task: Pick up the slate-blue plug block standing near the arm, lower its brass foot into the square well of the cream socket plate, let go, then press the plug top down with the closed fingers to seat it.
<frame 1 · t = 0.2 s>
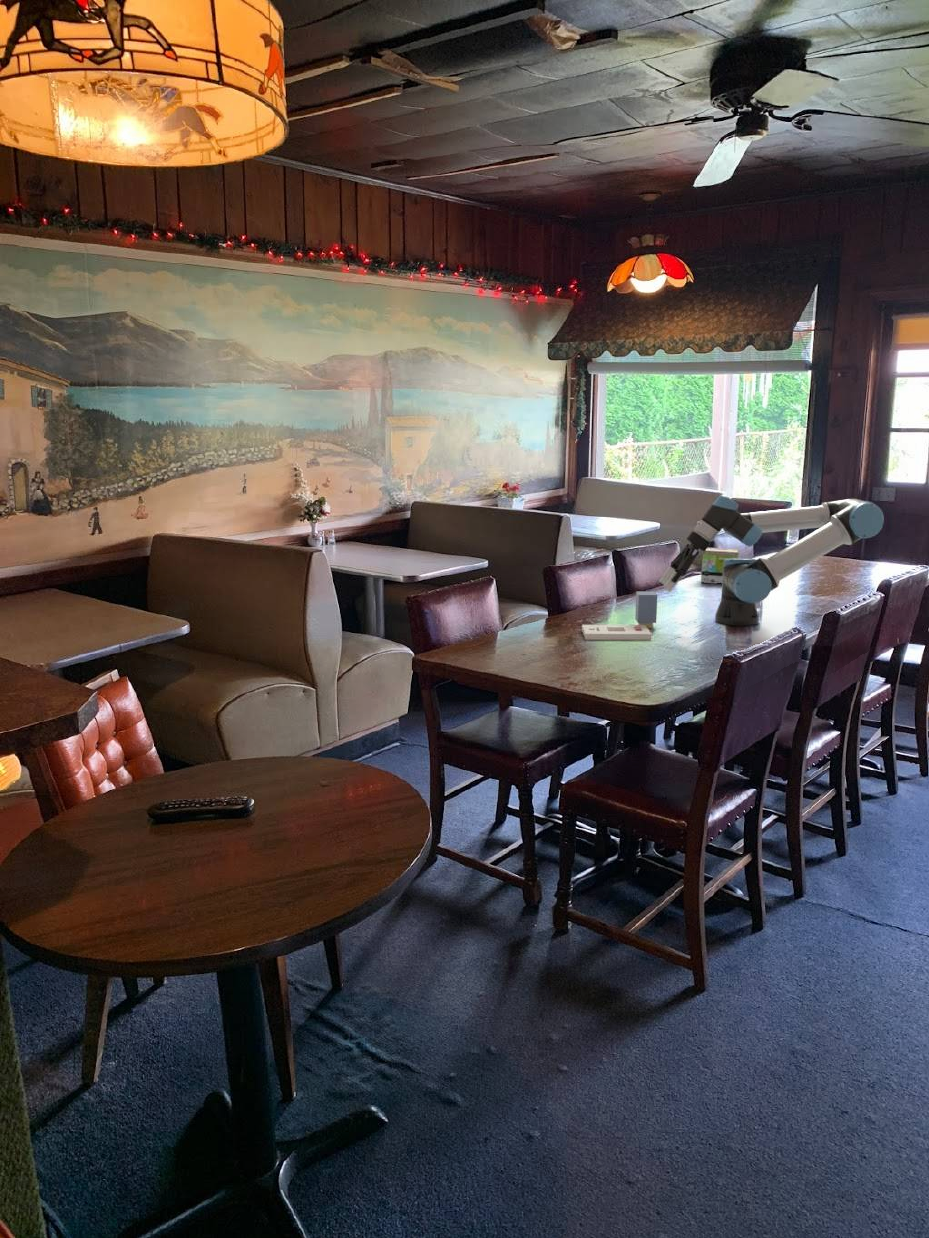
hand: (664, 586, 323), 15 cm above the table, fingers open, 13 cm apart
socket plate: (615, 635, 319), on the table
tea box: (718, 582, 412), on the table
plug: (645, 626, 331), on the table
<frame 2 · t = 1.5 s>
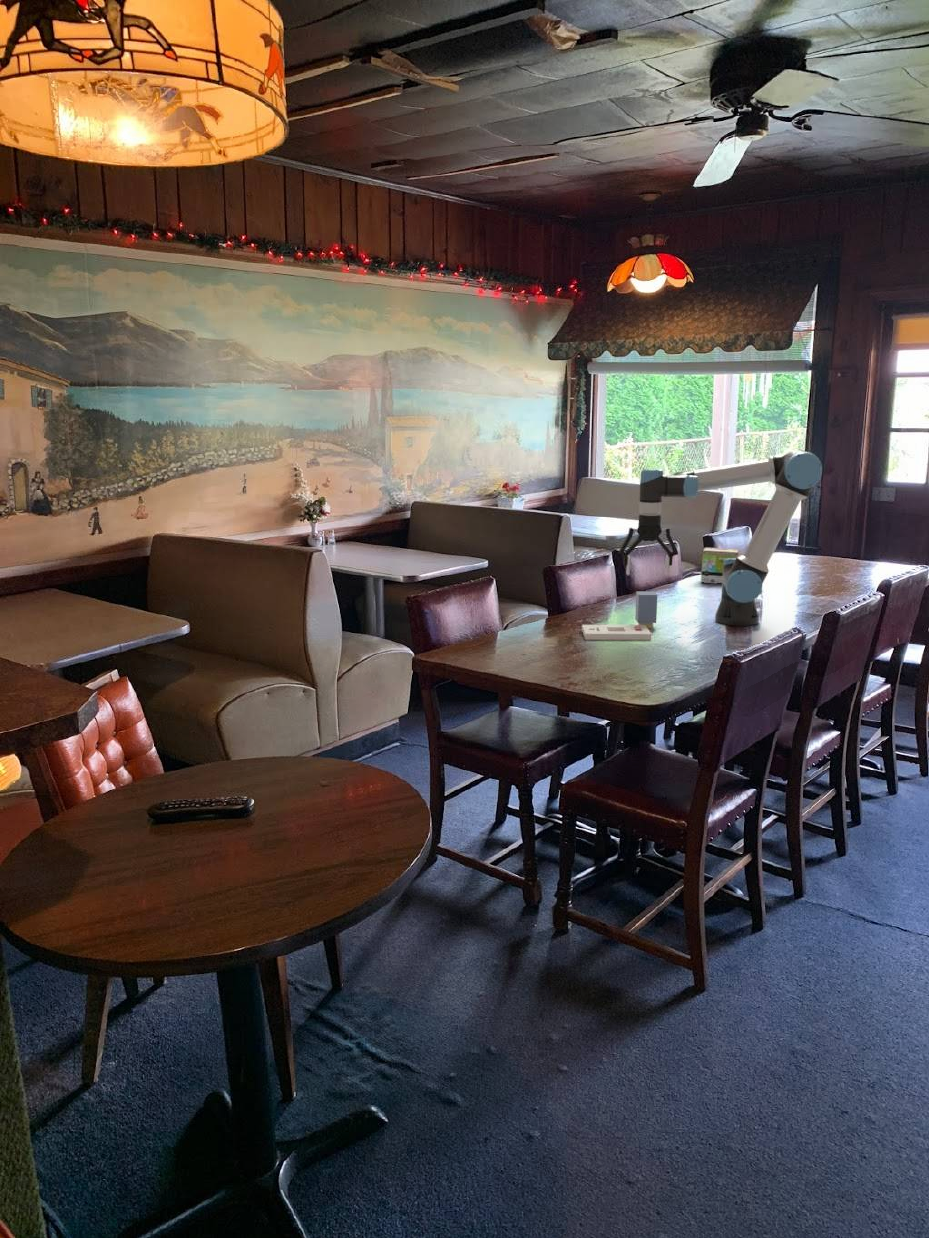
hand: (647, 574, 327), 19 cm above the table, fingers open, 13 cm apart
nothing on the table moved.
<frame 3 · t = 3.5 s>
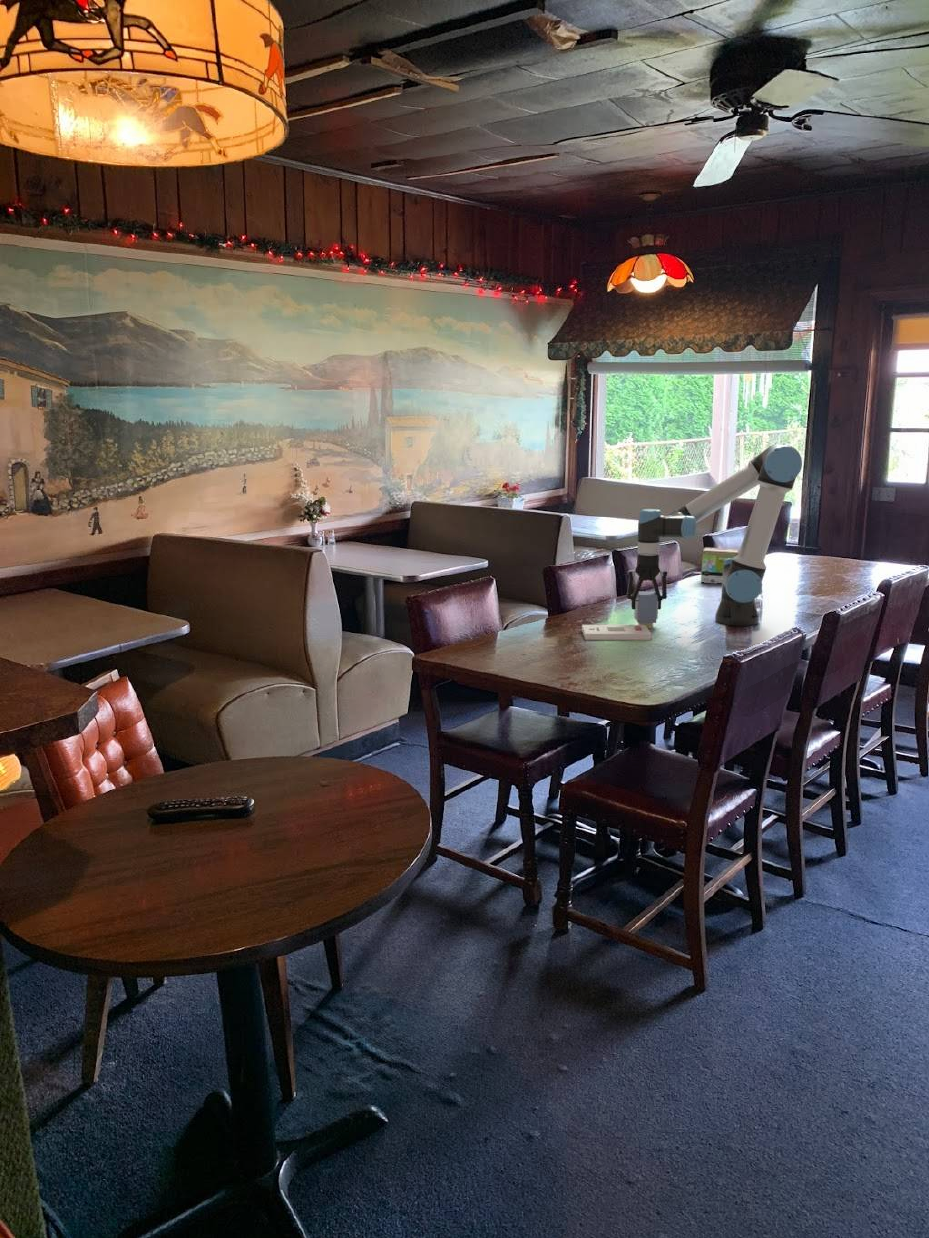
hand: (645, 618, 331), 3 cm above the table, fingers closed on plug, 6 cm apart
plug: (645, 626, 331), on the table, touching gripper
everything else where it was.
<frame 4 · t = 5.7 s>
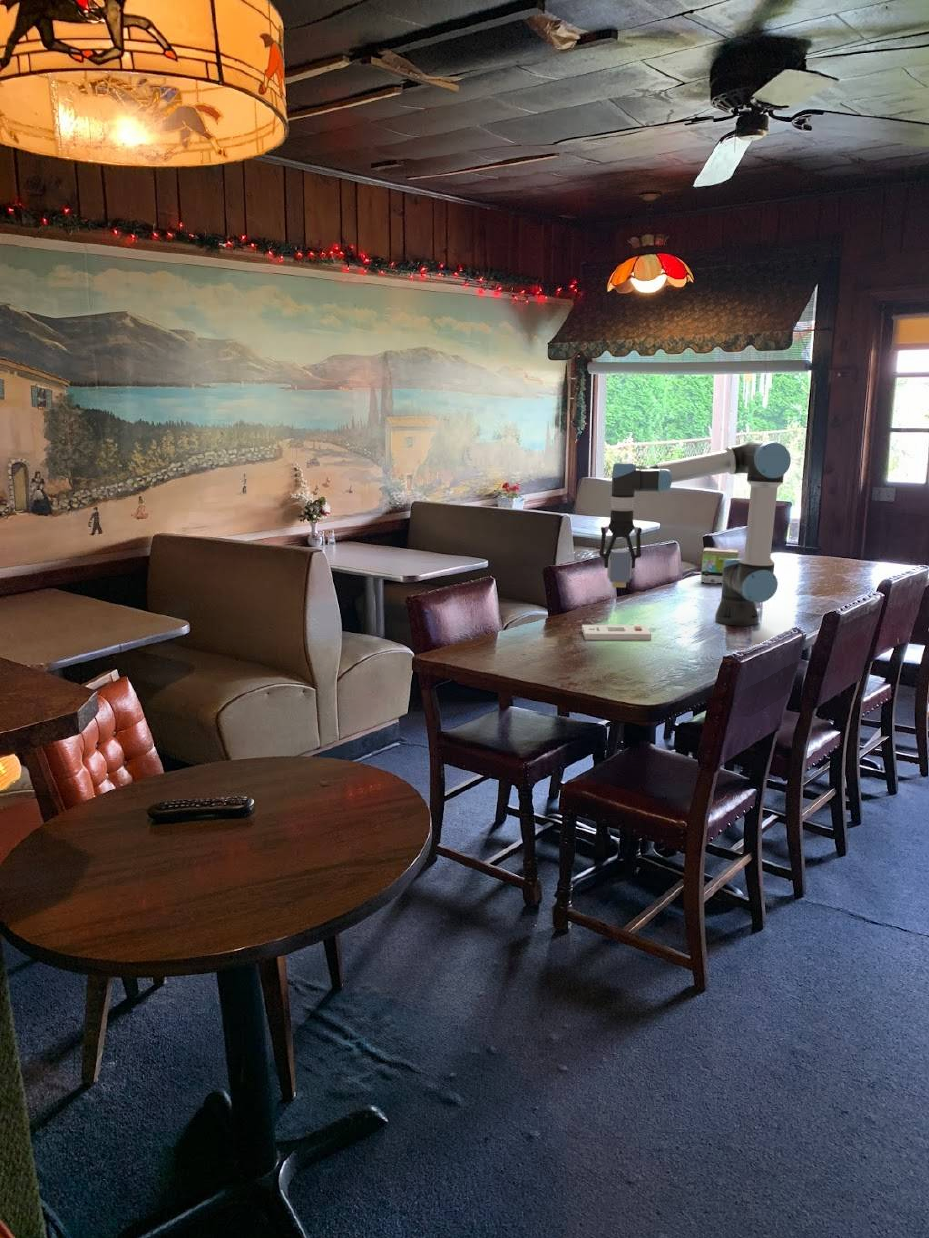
hand: (618, 577, 316), 20 cm above the table, fingers closed on plug, 6 cm apart
plug: (618, 586, 317), point 17 cm above the table, touching gripper
everything else where it was.
when the fingers open (4 cm above the table, at t = 8.0 s): plug stays where it is, resting on socket plate.
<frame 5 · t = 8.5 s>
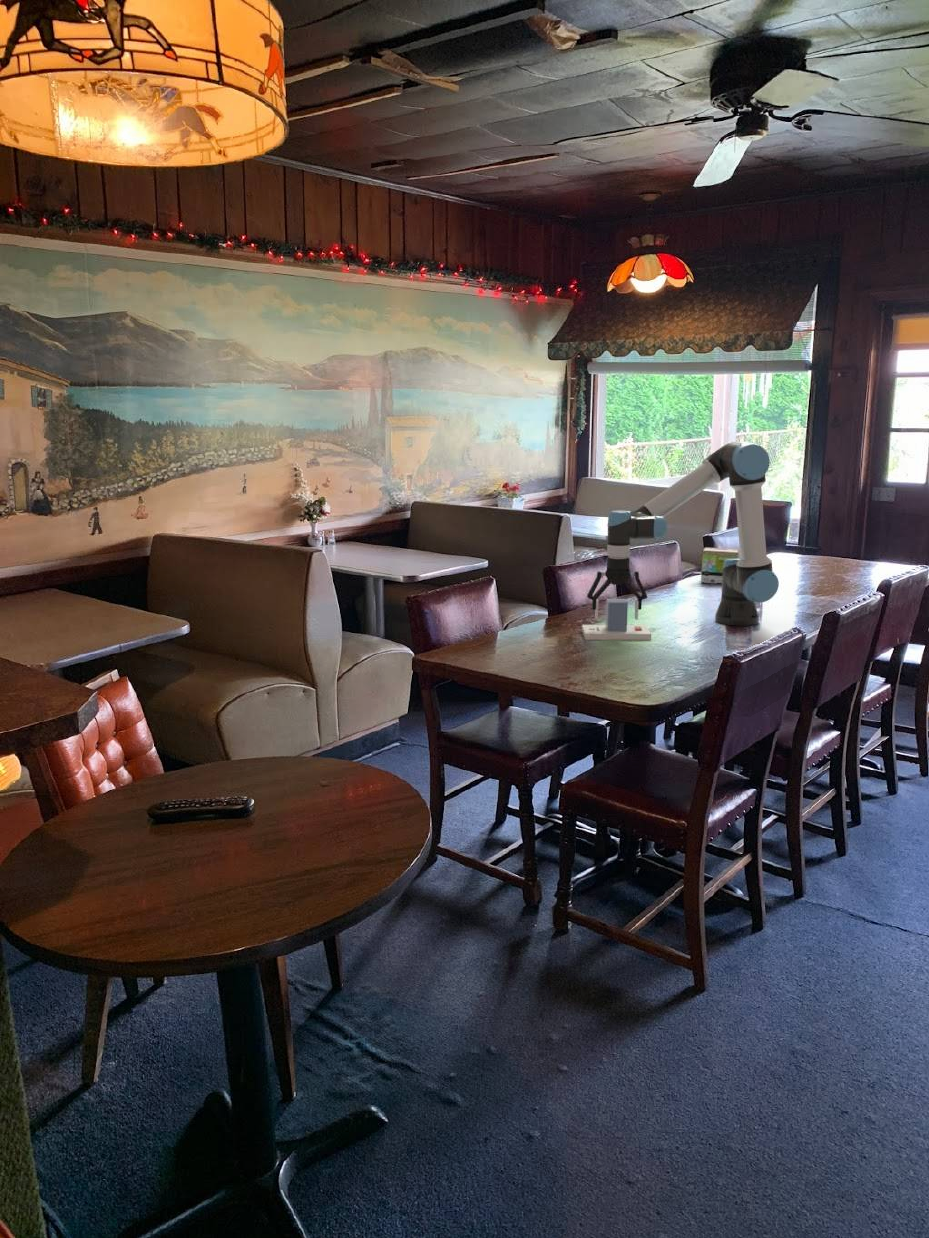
hand: (616, 618, 318), 6 cm above the table, fingers open, 13 cm apart
plug: (615, 634, 319), resting on socket plate
everything else where it was.
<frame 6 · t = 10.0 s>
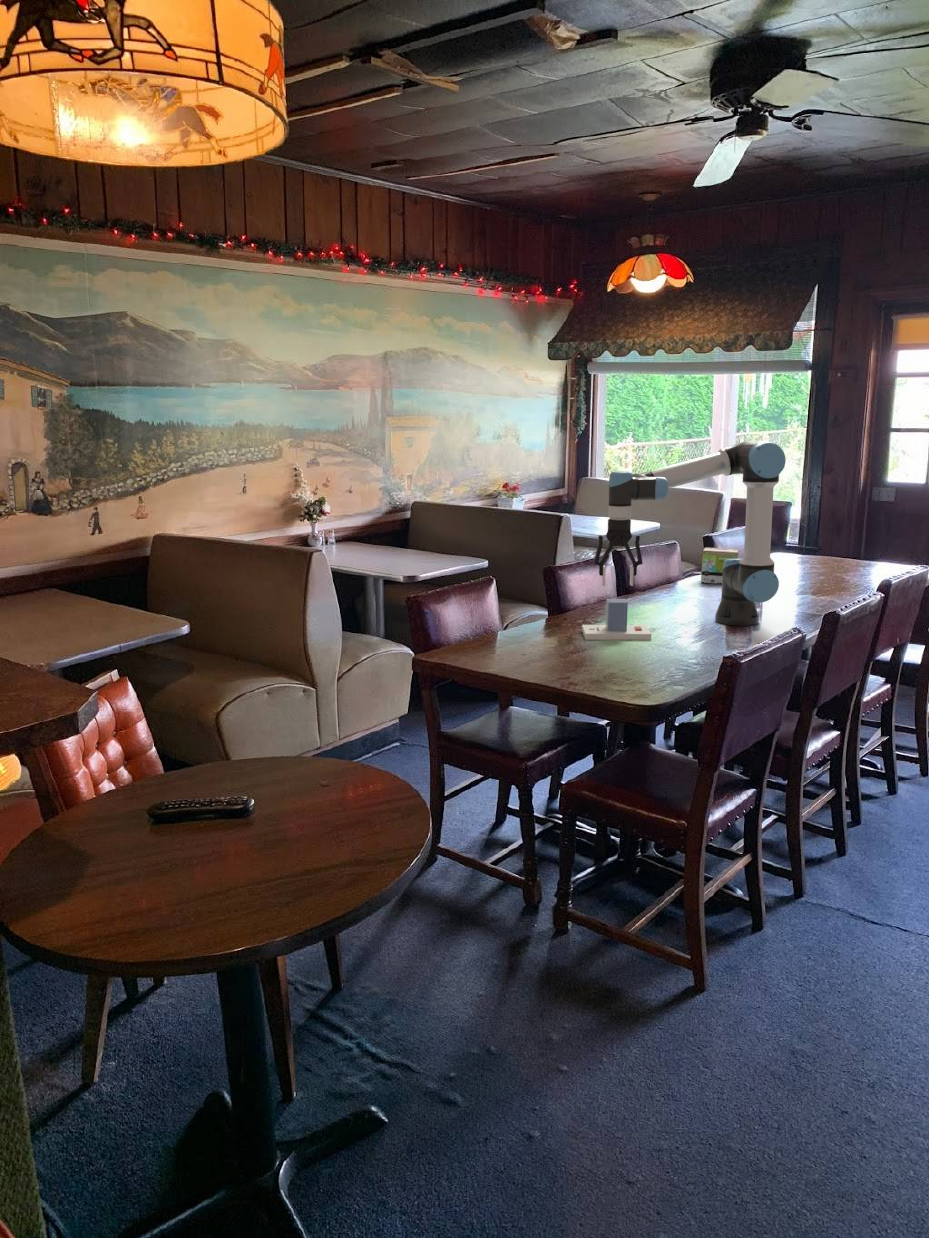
hand: (617, 585, 315), 17 cm above the table, fingers open, 9 cm apart
nothing on the table moved.
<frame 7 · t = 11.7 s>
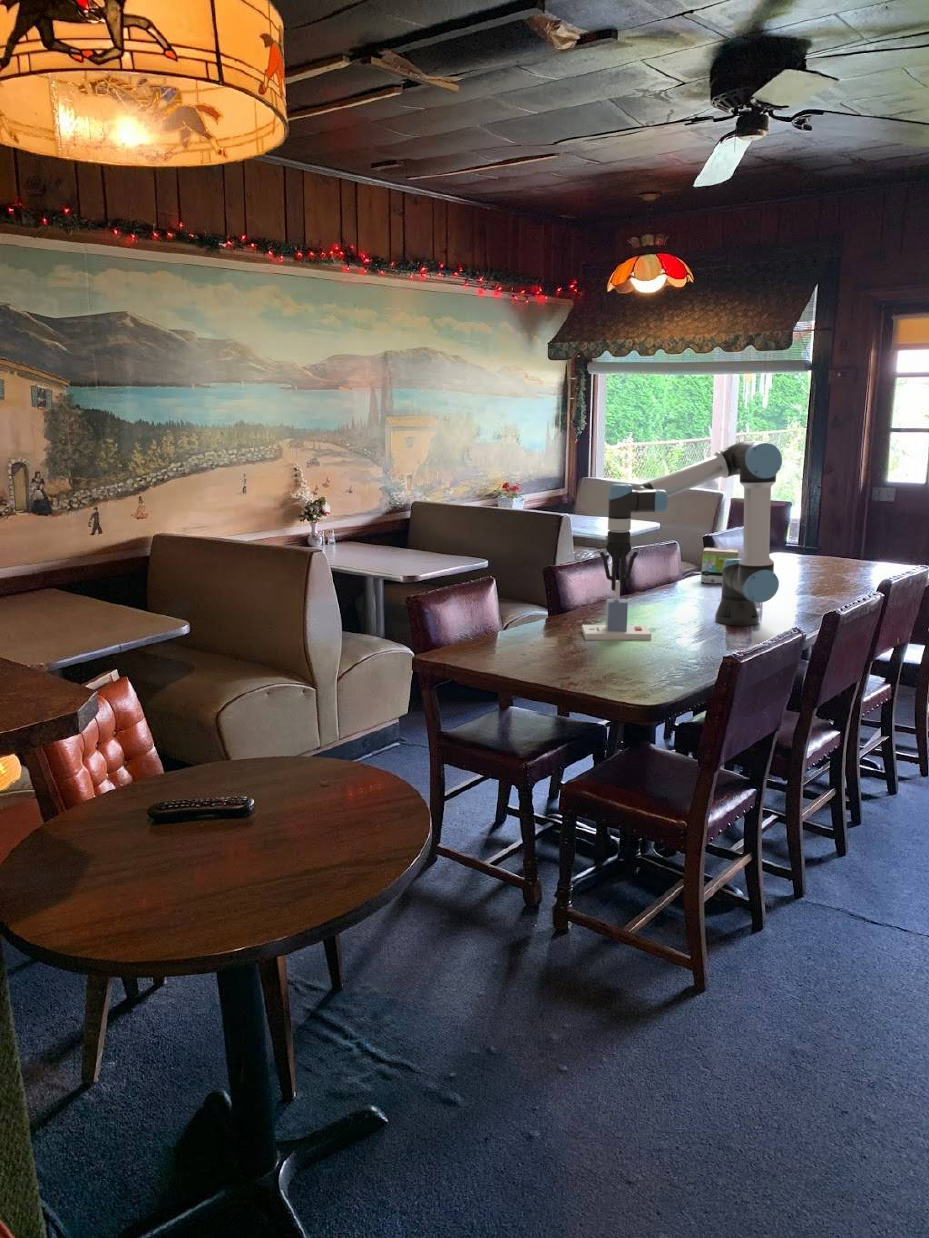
hand: (616, 599, 316), 12 cm above the table, fingers closed
plug: (615, 634, 319), resting on socket plate, touching gripper
everything else where it was.
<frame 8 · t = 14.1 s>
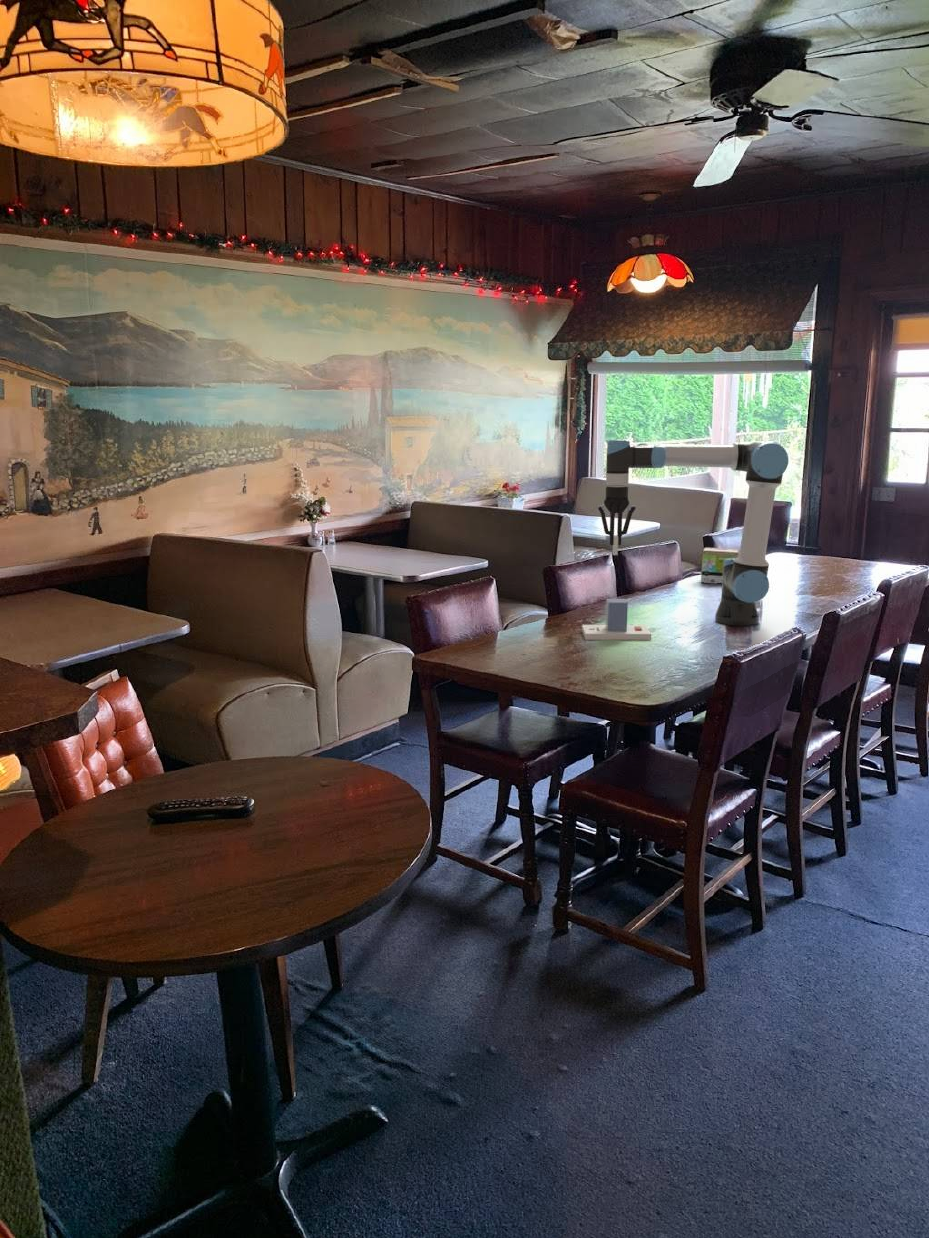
hand: (615, 554, 322), 26 cm above the table, fingers closed
plug: (615, 634, 319), resting on socket plate
everything else where it was.
at the end: plug 0.1 cm off-centre on the socket plate, point 0.0 cm above the socket plate's base; plug tilted 0°; the gripper is holding nothing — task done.
